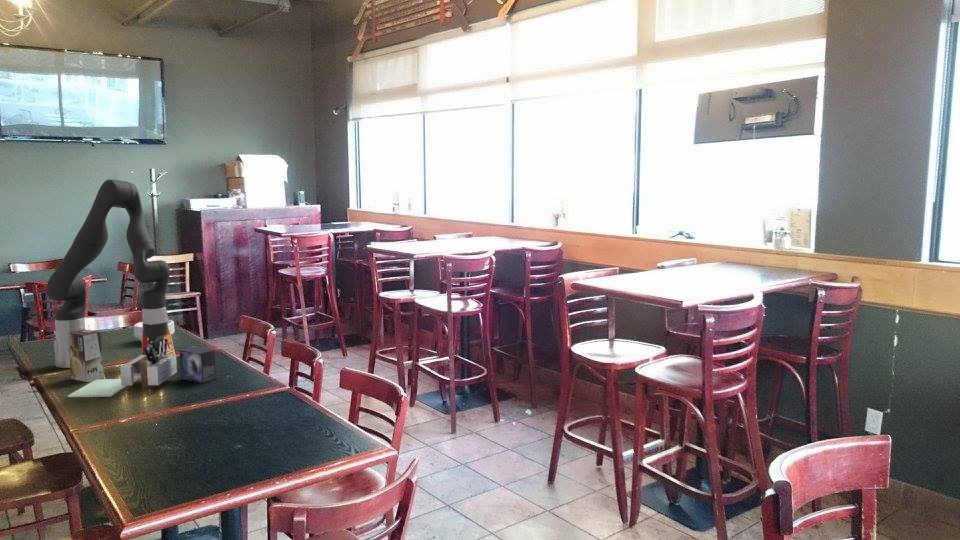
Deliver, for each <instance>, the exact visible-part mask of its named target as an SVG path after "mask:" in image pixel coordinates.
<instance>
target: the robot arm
mask: <svg viewBox="0 0 960 540" xmlns="http://www.w3.org/2000/svg"><path fill="white" fill-rule="evenodd" d="M113 208H120V209H125V211H126V212H127V214H128V216H129V222H128V226H127V230H126V234H125V235H126V241H127V244H128V247H129V249H130V251H131V253H132V257H133V273H134V274H133V275H134V277H135V279H136V280H137V281H138V282H139V283H141V284H149V283H150V284H151V283H154V284H153V286H152V287H150V288H149V289H145V290H144V291H143V292H142V293H141V301H142V302H141V304H142V314H141V317H142V322H143V335H144V336H147V337H148V338H149V339H148V347H145V349H144V350H145V353H146V356H147V359H148V361H149V362H152V365H154V364H155V363H157V362H158V361H159V360H160V359H159V355H166V351H167V344H168V339H164V335H166V334H168V320H169V319H168V311H167V304H166V303H167V302H166V293H167V287H168V283H169V280H170V274H171V270H170V266H169V264H168V263H167V261H166V260H162V259H159V260H150V259H151V258H152V257H154V256H155V255H156V248H155V245H154V242H153V240H152V237H151V236H150V232H149V230H148V226H147V224H146V219H145V214H144V210H143V204H142V200H141V195H140V191H139V189H138V187H137V185H136V184H134V183H133V182H131V181H126V180H120V179H113V178H112V179H106V180H105V181H103V182H102V184H101V185H100V187H99V188H98V191H97V193H96V196H95V198H94V201H93V204H92V205H91V208H90V210H89V212H88V213H87V216H86V218H85V220H84V222H83V224H82V226H81V227H80V229H79V231H78V232H77V234H76V235H75V238H74V239H73V241H72V243H71V246H70V247H69V249H68V251H67V253H66V254H65V256H64V257H63V259H62V261H61V263H60V264H59V265H58V267H57V268H56V269H55V271H54V272H53V273H52V274H51V276H50V278H49V279H48V281H47V283H46V286H45V287H46V291H45V292H46V294H47V297H48V298H49V299H50V300H52V301H54V302H63V304H62V305H61V306H60V307H59V308H58V309H57V310H56V311H54V313H53V314H54V327H55V338H56V339H54V341H53V348H54V349H53V350H54V359H55V360H54V361H55V367H56V368H62V369H68V368H69V369H70V357H69V346H68V335H67V333H69V332H73V331H78V330H84V329H85V330H86V321H85V312H86V309H87V289H86V288H87V287H86V282H85V280H84V278H83V277H82V275H80V274H79V273H81V272H82V271H83V270H84V269H85V268H86V267H88V266H89V265H90V264H91V263H92V262H94V261H95V260H96V259H97V258H98V257H99V256H100V255H101V253H102V251H103V250H104V248H105V246H106V245H107V242H108V240H109V232H108V227H107V222H106V219H107V217H108V216H109V215H108V214H109V212H110V211H111V209H113ZM148 259H149V260H148ZM147 260H148V261H147ZM156 356H157V357H156Z"/></svg>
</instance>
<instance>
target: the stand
mask: <svg viewBox="0 0 960 540" xmlns="http://www.w3.org/2000/svg"><path fill="white" fill-rule="evenodd" d="M147 366H149V361H148V360H144V361H140V367H141V378H140V381H141V390H142V391H146V390H151V389H152V385H148V377H147Z"/></svg>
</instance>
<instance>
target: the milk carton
mask: <svg viewBox="0 0 960 540" xmlns="http://www.w3.org/2000/svg"><path fill="white" fill-rule="evenodd" d="M148 339H149V338H148V337H147V336H144V335H143V329H142V342H141V355H146V353H145V350H144V349H145V347H148ZM164 339H168V344H167V351H166V355H176V352H175V347H174V343H173V338H172V334H170V330H169V327H168V334H166V335H164Z"/></svg>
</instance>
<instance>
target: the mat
mask: <svg viewBox="0 0 960 540" xmlns="http://www.w3.org/2000/svg"><path fill="white" fill-rule="evenodd" d="M125 388H126V386H122V385H121V378H101V379H96V380H94V381H90V382H88V384H86V385H84V386H82V387H80V388H79V389H76V390H75V391H73V392H71V393H70V394H68V395H67V398H100V397H101V398H105V397H106V398H111V397H112V396H115V394H117V393H119V392H121V391H122V390H123V389H125Z"/></svg>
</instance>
